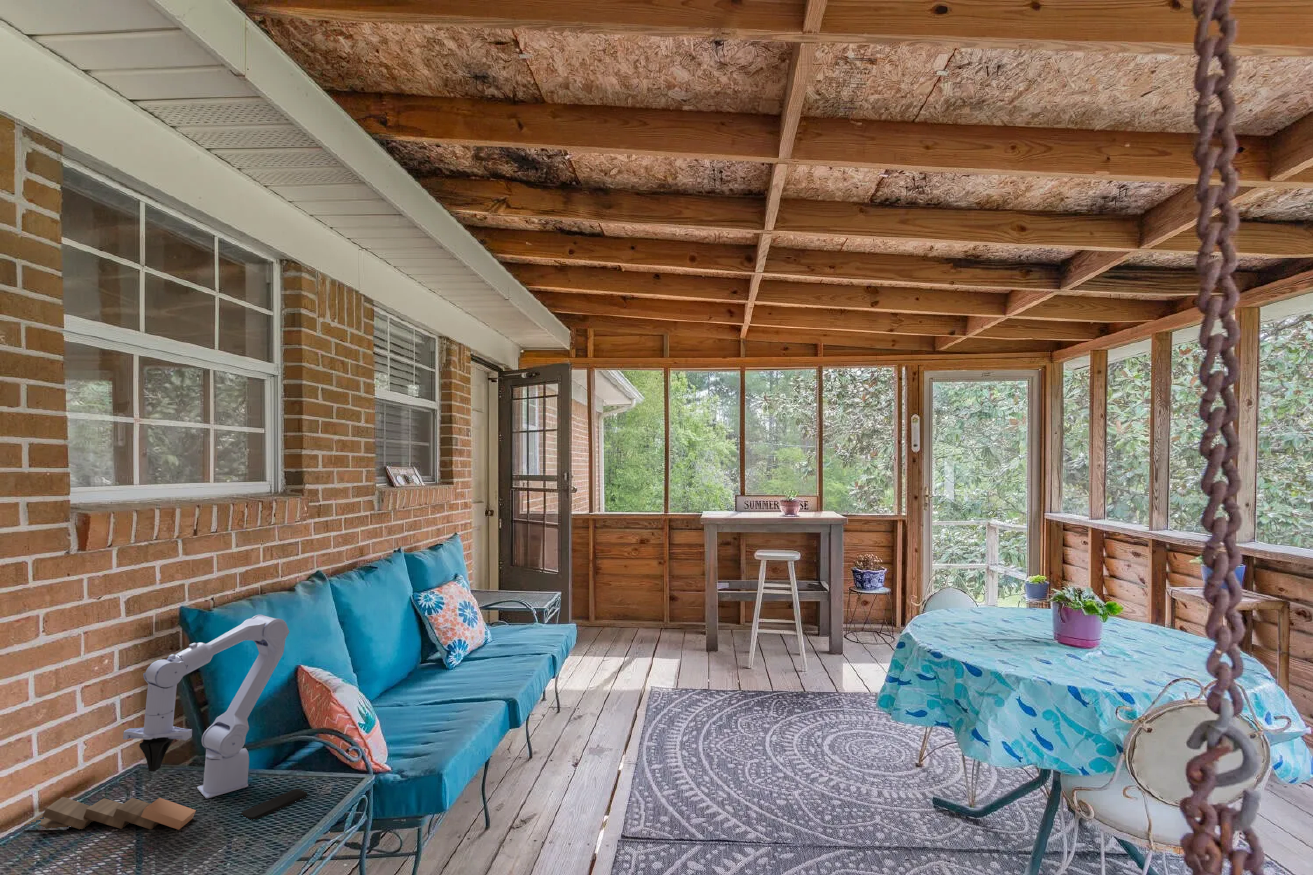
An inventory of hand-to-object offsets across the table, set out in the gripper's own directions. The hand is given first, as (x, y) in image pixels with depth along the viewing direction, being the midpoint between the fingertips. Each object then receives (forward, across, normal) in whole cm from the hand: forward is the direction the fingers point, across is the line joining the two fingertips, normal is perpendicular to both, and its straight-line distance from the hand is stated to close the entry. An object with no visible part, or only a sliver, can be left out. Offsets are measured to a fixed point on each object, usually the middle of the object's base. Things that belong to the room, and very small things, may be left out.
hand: (154, 769), depth 157 cm
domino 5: (+10, +11, -4) cm, 15 cm away
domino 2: (+9, -10, -5) cm, 14 cm away
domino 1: (+10, -13, -5) cm, 17 cm away
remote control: (+11, +27, +4) cm, 29 cm away
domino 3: (+10, -2, -4) cm, 10 cm away
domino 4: (+10, +5, -4) cm, 11 cm away
